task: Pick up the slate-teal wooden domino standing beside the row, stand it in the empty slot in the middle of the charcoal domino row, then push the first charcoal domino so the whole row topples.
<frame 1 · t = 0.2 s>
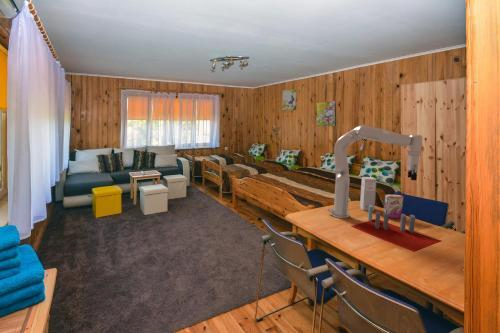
hand: (411, 178, 193), 31 cm above the table, tool pointing down, fingers open, 9 cm apart
domino 1: (377, 227, 188), on the table
box: (366, 209, 227), on the table
domino 4: (402, 230, 183), on the table
domino 2: (385, 228, 186), on the table
domino 5: (411, 231, 182), on the table
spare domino: (369, 219, 203), on the table
candy bar box: (392, 217, 208), on the table
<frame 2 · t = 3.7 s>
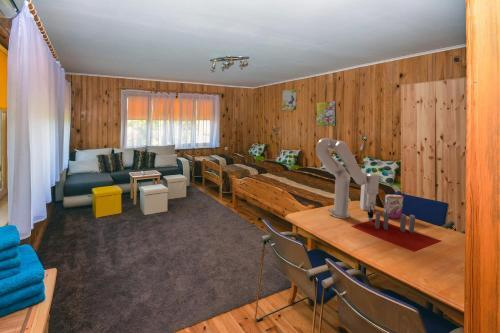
hand: (370, 216, 202), 2 cm above the table, tool pointing down, fingers closed on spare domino, 4 cm apart
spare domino: (370, 219, 203), on the table, touching gripper
everything else where it was.
when the fingers open (3 cm above the table, at t = 11.1 s): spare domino stays where it is, on the table.
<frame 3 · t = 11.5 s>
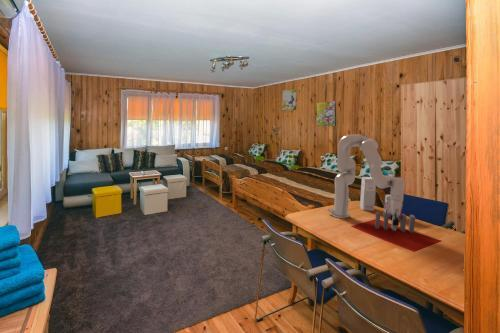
hand: (394, 222, 184), 4 cm above the table, tool pointing down, fingers open, 9 cm apart
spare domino: (393, 229, 185), on the table
everything else where it was.
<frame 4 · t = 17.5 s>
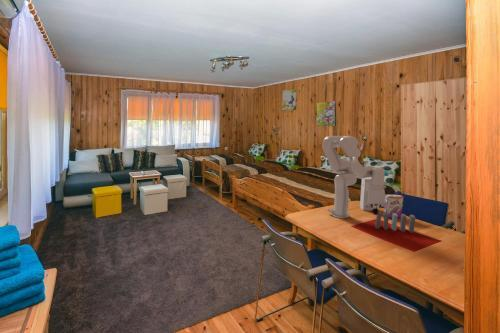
hand: (375, 214, 187), 9 cm above the table, tool pointing down, fingers closed
domino 1: (377, 227, 188), on the table, tilted 5°
everything else where it was.
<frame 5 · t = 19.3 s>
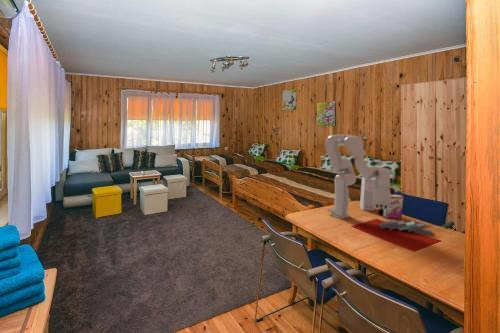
hand: (380, 215, 186), 9 cm above the table, tool pointing down, fingers closed
domino 1: (380, 226, 187), point 1 cm above the table, tilted 68°, touching domino 2
domino 4: (407, 229, 183), point 1 cm above the table, tilted 68°, touching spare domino
domino 2: (388, 227, 186), point 1 cm above the table, tilted 68°, touching domino 1, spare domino
domino 5: (413, 230, 182), on the table, tilted 90°
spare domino: (398, 227, 185), point 1 cm above the table, tilted 67°, touching domino 2, domino 4
everything else where it was.
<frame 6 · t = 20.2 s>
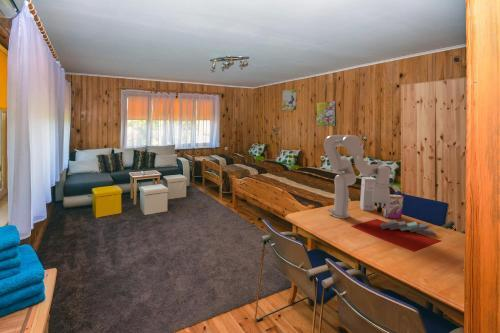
hand: (379, 212, 186), 10 cm above the table, tool pointing down, fingers closed
domino 1: (381, 226, 187), point 1 cm above the table, tilted 67°, touching domino 2
domino 4: (409, 229, 182), point 1 cm above the table, tilted 68°, touching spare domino
domino 2: (389, 227, 185), point 1 cm above the table, tilted 69°, touching domino 1
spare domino: (400, 228, 184), point 1 cm above the table, tilted 67°, touching domino 4
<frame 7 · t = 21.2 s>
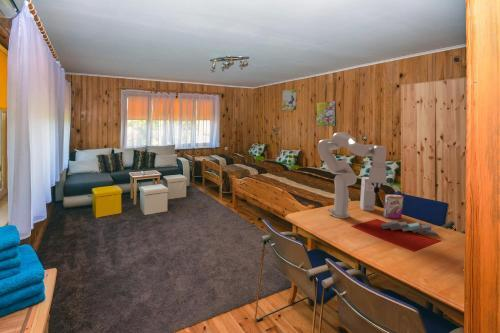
hand: (376, 193, 185), 23 cm above the table, tool pointing down, fingers closed
domino 1: (381, 226, 186), point 1 cm above the table, tilted 68°, touching domino 2
domino 4: (412, 229, 181), point 1 cm above the table, tilted 69°, touching domino 5, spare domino
domino 2: (390, 227, 185), point 1 cm above the table, tilted 71°, touching domino 1, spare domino
domino 5: (417, 231, 180), on the table, tilted 90°, touching domino 4
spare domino: (402, 228, 183), point 1 cm above the table, tilted 68°, touching domino 2, domino 4
everything else where it was.
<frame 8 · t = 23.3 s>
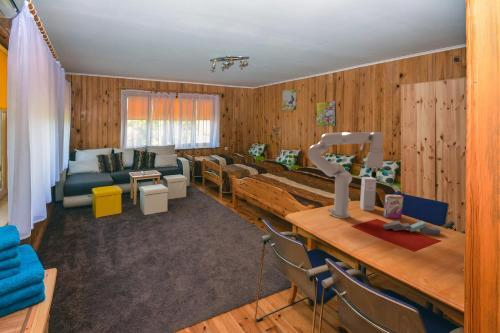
hand: (373, 177, 195), 31 cm above the table, tool pointing down, fingers closed
domino 1: (383, 227, 186), point 1 cm above the table, tilted 69°, touching domino 2
domino 4: (420, 228, 180), point 2 cm above the table, tilted 90°, touching domino 5
domino 2: (392, 227, 184), point 1 cm above the table, tilted 75°, touching domino 1, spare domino
domino 5: (420, 231, 180), on the table, tilted 90°, touching domino 4
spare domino: (408, 229, 182), point 1 cm above the table, tilted 63°, touching domino 2
everything else where it was.
at the end: domino 5 tilted 90°; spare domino inside the target area (3.6 cm from its centre), point 1.1 cm above the table; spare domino tilted 65° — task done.
